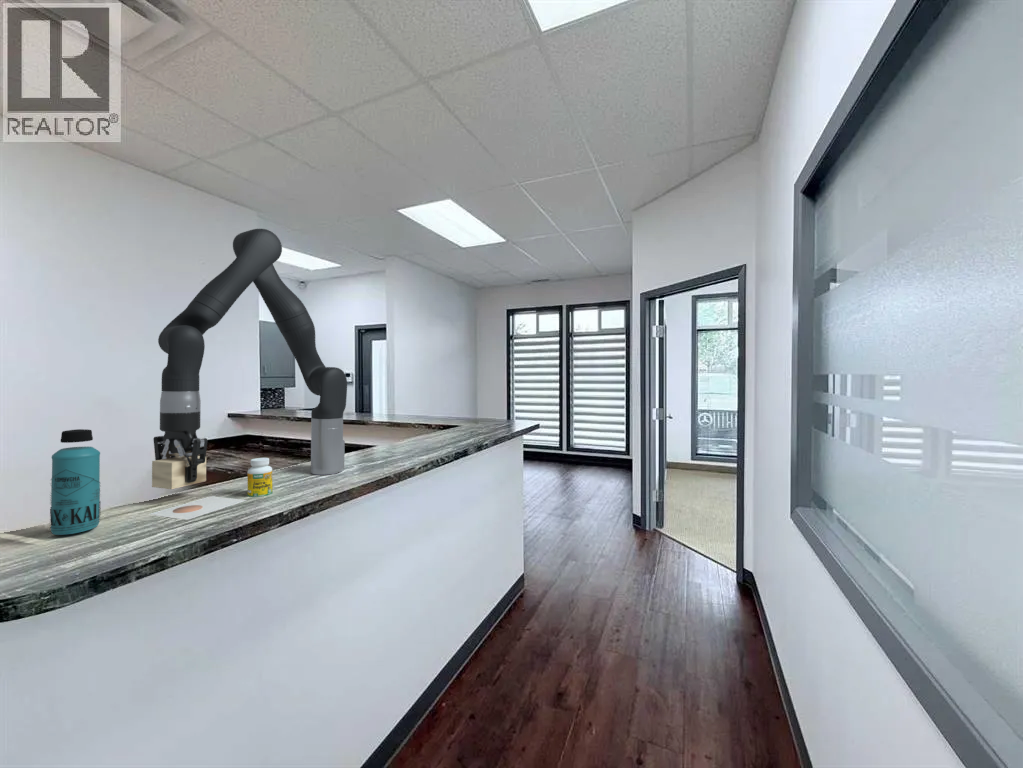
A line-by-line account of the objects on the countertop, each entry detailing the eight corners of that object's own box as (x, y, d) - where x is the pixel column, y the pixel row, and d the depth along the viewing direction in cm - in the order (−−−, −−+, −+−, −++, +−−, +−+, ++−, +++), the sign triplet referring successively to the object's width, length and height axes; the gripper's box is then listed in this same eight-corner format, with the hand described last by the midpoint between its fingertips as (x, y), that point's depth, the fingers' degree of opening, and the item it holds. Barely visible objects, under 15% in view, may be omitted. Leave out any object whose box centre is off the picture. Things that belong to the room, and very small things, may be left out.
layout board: (211, 499, 101) (211, 495, 101) (247, 503, 98) (247, 500, 98) (147, 518, 87) (147, 514, 87) (187, 523, 84) (187, 519, 84)
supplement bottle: (269, 493, 107) (269, 456, 107) (275, 497, 103) (275, 459, 103) (245, 496, 103) (245, 458, 103) (250, 501, 99) (250, 462, 99)
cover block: (187, 479, 102) (187, 454, 102) (206, 481, 101) (206, 456, 101) (151, 487, 95) (152, 461, 95) (171, 489, 93) (171, 462, 93)
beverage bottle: (53, 535, 77) (53, 428, 77) (103, 527, 81) (103, 426, 81) (45, 546, 72) (45, 433, 72) (99, 537, 76) (99, 430, 76)
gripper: (219, 410, 99) (218, 479, 100) (174, 408, 103) (173, 475, 103) (187, 412, 92) (187, 487, 92) (140, 410, 96) (139, 482, 96)
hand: (179, 480), depth 98 cm, fingers closed on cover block, 6 cm apart
